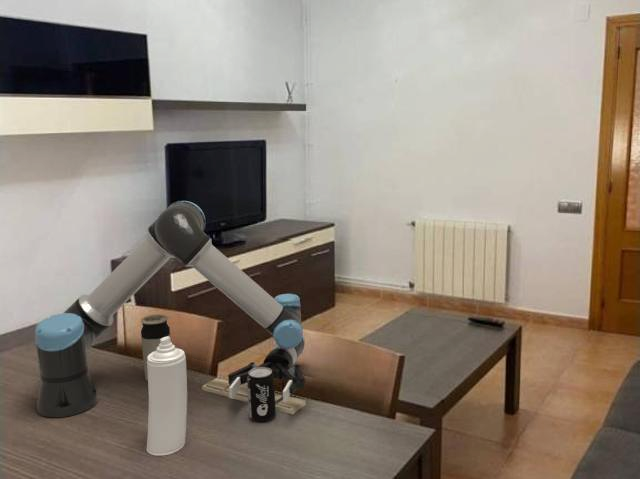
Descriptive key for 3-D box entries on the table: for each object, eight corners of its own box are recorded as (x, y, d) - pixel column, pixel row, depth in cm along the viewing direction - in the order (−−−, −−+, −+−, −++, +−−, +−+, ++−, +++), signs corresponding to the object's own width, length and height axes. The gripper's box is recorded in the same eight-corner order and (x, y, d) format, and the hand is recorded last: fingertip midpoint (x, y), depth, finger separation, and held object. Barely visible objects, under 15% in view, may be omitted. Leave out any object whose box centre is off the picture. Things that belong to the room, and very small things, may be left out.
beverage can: (281, 416, 154) (279, 370, 152) (261, 426, 149) (259, 379, 147) (263, 408, 159) (261, 364, 156) (243, 417, 154) (241, 372, 151)
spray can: (143, 434, 147) (134, 335, 142) (188, 425, 151) (180, 328, 146) (148, 459, 136) (138, 352, 131) (196, 448, 140) (188, 344, 135)
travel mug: (139, 378, 179) (134, 319, 175) (162, 369, 185) (157, 312, 181) (156, 385, 174) (150, 325, 170) (179, 376, 180) (174, 317, 176)
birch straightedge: (292, 414, 155) (292, 409, 154) (202, 390, 170) (202, 385, 170) (305, 404, 160) (305, 400, 159) (216, 381, 175) (216, 377, 175)
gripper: (325, 376, 168) (308, 412, 148) (237, 371, 173) (209, 405, 153) (324, 350, 166) (306, 383, 146) (236, 345, 172) (207, 377, 151)
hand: (257, 395), depth 149 cm, fingers open, 13 cm apart
